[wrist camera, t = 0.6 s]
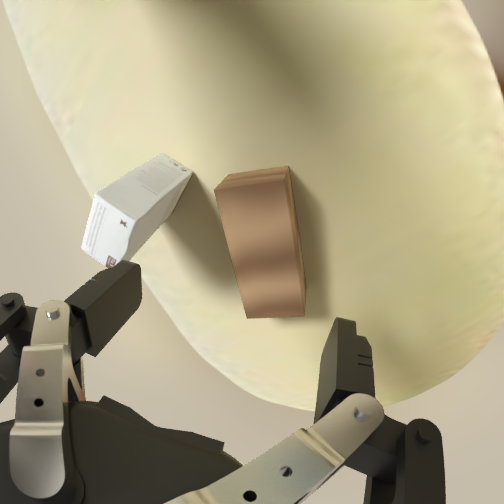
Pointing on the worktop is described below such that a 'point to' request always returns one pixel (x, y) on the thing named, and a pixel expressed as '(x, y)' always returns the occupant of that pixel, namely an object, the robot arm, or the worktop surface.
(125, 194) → the skincare box
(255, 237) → the walnut ledge
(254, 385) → the worktop surface
